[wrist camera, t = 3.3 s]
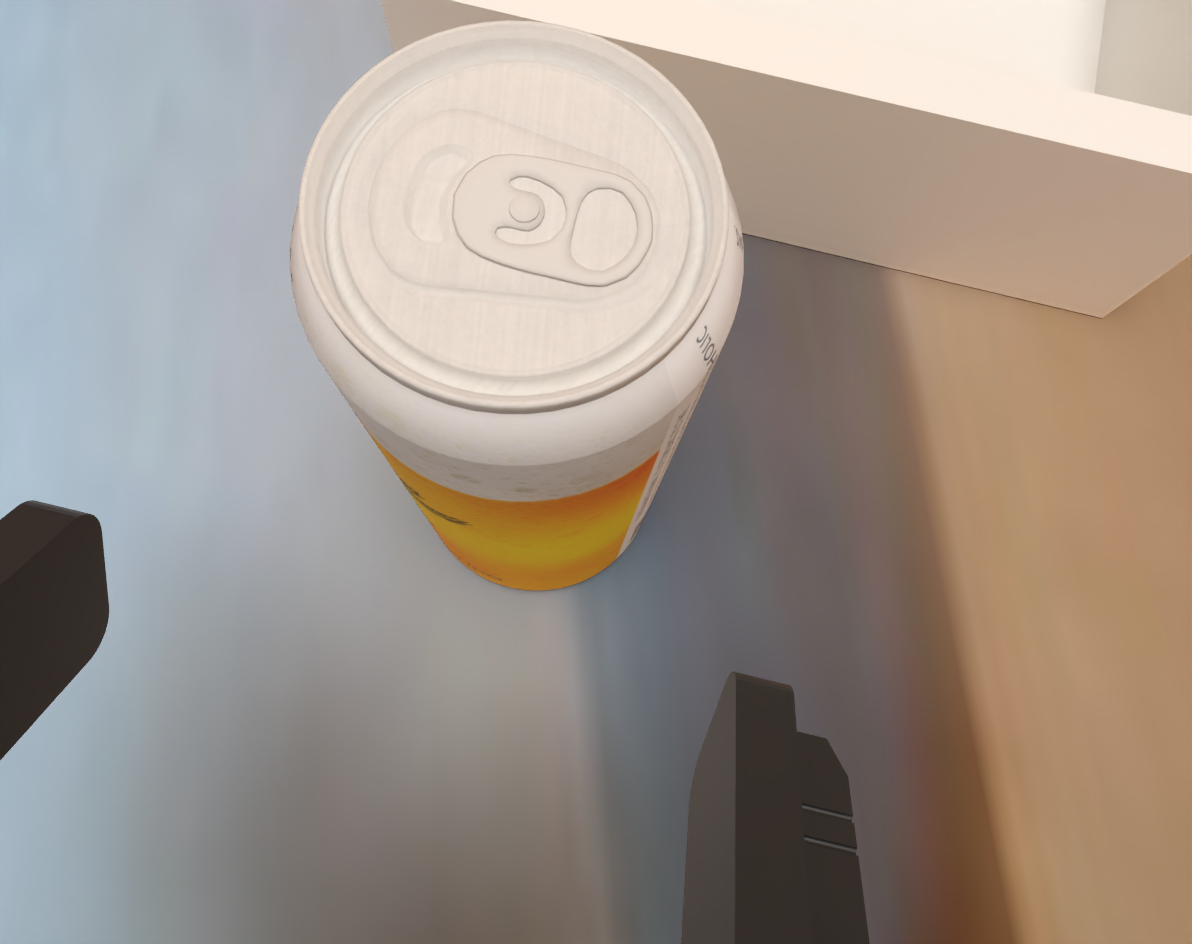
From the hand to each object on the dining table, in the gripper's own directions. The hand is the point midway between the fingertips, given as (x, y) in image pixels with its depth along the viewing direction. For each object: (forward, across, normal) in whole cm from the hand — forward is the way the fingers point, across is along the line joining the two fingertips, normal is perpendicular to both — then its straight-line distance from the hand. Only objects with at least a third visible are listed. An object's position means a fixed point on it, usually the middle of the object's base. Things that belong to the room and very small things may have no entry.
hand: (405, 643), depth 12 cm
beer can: (+13, 0, +6) cm, 15 cm away
